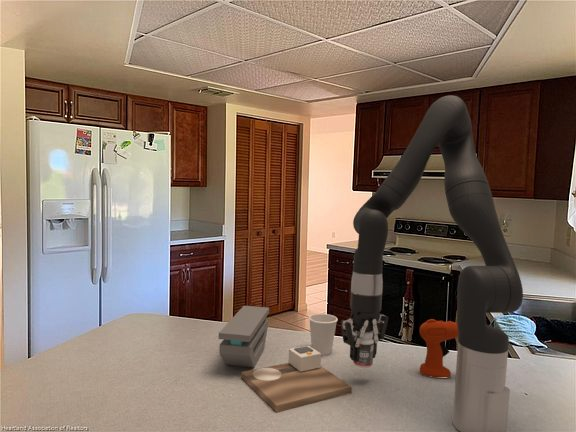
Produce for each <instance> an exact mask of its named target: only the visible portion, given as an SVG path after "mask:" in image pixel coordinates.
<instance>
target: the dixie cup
mask: <svg viewBox="0 0 576 432" xmlns="http://www.w3.org/2000/svg"><path fill="white" fill-rule="evenodd" d="M308 320H309V328H310V329H309V330H310V342H311V347H312V348H313V349H315V350H316V351H318V352H320V353H321V356H328V355H331V354H332V351H333V345H334V340H335V339H334V338H335V334H336V327H337V322H338V318H337V316H335V315H332V314H328V313H314V314H311V315H309V316H308Z"/></svg>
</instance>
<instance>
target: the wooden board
mask: <svg viewBox="0 0 576 432" xmlns="http://www.w3.org/2000/svg"><path fill="white" fill-rule="evenodd" d="M241 379H242V380H243V381H244V382H245V383H246V384H247V385H248V387H250V388H251V389H252V390H253V391H254V392H255V393H256V394H257V395H258V396H259V397H260V398H261V399H262V400H263V401H264V402H265V403H267V405H268V406H269V407H270V408H271V409H272V410H273V411H275V413H279V412H283V411H287V410H290V409H294V408H298V407H303V406H307V405H310V404H313V403H318V402H322V401H326V400H329V399H333V398H337V397H341V396H344V395H345V396H346V395H348V394H352V393H353V390H352V389H353V386H351V385H350V384H349V383H347V382H346V381H344V380H343V379H342V378H340V377H338V376H337V375H336V374H334V373H332V372H331V371H329V370H328V369H326V368H325V367H323V366H322V365H321V367H320V368H315V369H310V370H306V371H301V372H300V371H299V370H298V369H296V368H295V367H294V366H292V365H291V364H290V363H288V362H284V363H281V364H276V365H275V364H274V365H271V366H264V367H260V368H253V369H249V370H245V371H244V370H243V371H241Z"/></svg>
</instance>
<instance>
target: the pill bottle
mask: <svg viewBox="0 0 576 432" xmlns="http://www.w3.org/2000/svg"><path fill="white" fill-rule="evenodd" d="M356 332H357V333H359V332H358V331H356ZM372 338H373V331H371V332H366V333H364V336H363V338H362V339H361V341H360V344H359V347H360V349H359V361H358V362H354V361H352V363H353V365H354V366H356V367H359V368H362V369H363V368H364V369H367V368H371V367H372V366H373V360H374V358H373V347H374V340H373V339H372ZM355 340H356V337H355ZM355 340H354V341H355Z"/></svg>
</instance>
